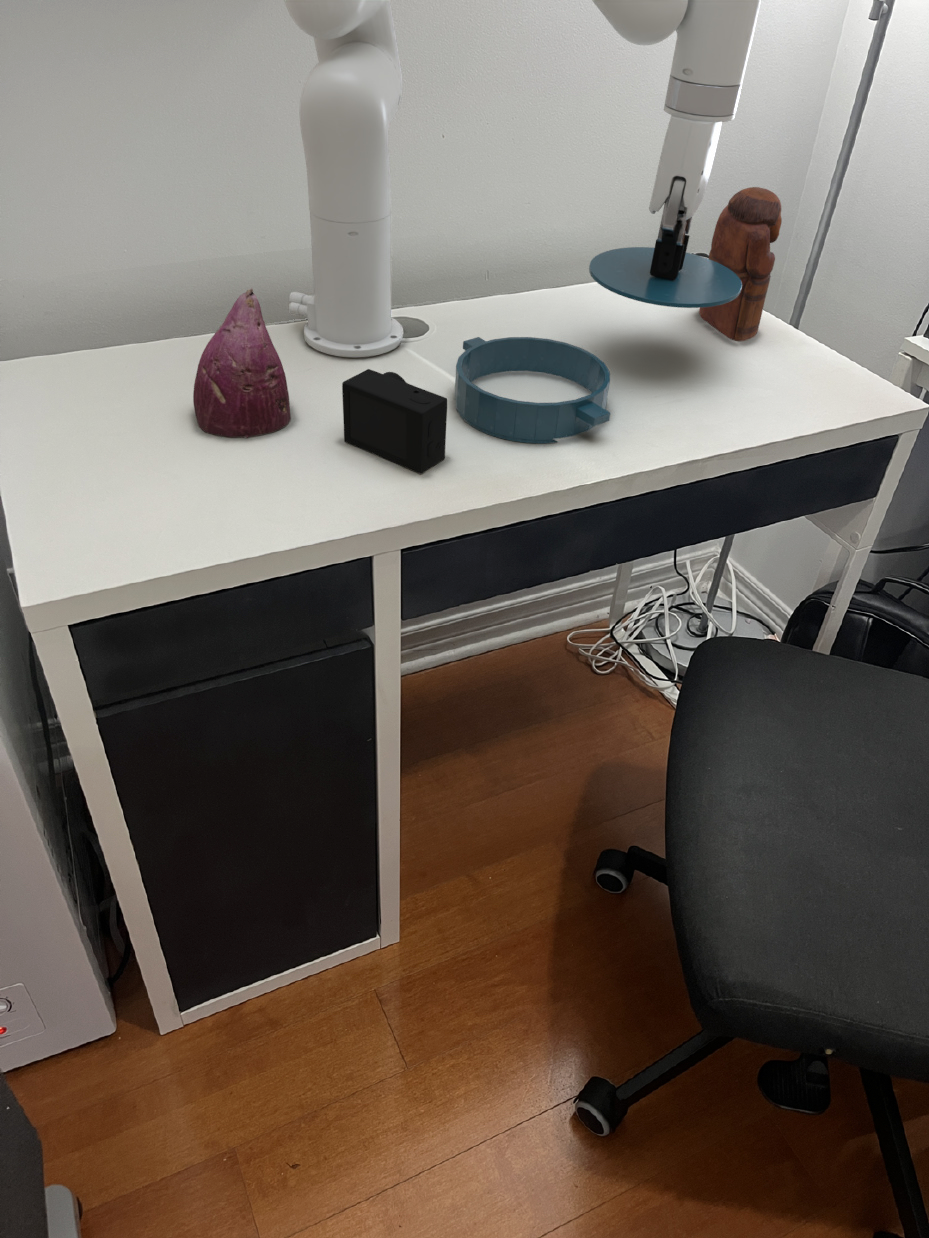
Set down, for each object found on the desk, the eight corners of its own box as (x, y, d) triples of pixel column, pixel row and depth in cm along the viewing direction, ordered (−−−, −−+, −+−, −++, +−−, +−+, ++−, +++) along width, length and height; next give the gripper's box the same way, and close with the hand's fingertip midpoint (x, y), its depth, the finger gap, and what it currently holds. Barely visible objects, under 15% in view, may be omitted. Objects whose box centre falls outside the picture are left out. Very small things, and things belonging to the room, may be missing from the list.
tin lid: (667, 325, 103) (679, 269, 99) (557, 270, 113) (564, 217, 109) (771, 295, 112) (785, 242, 108) (659, 247, 122) (669, 198, 118)
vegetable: (255, 414, 111) (261, 279, 105) (308, 437, 105) (318, 296, 98) (173, 419, 104) (175, 275, 97) (225, 444, 97) (230, 292, 91)
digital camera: (453, 454, 100) (456, 393, 95) (421, 475, 96) (423, 413, 92) (376, 423, 104) (376, 363, 100) (344, 442, 101) (341, 381, 96)
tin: (537, 470, 98) (542, 431, 95) (411, 386, 111) (412, 349, 108) (652, 427, 107) (659, 389, 104) (522, 353, 120) (525, 318, 117)
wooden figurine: (771, 343, 126) (809, 202, 115) (729, 347, 124) (764, 204, 113) (725, 309, 135) (757, 174, 123) (686, 312, 133) (714, 176, 121)
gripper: (680, 80, 107) (648, 246, 118) (651, 107, 95) (619, 289, 107) (747, 90, 105) (708, 257, 117) (726, 119, 93) (685, 302, 105)
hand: (666, 271), depth 112 cm, fingers closed on tin lid, 2 cm apart
